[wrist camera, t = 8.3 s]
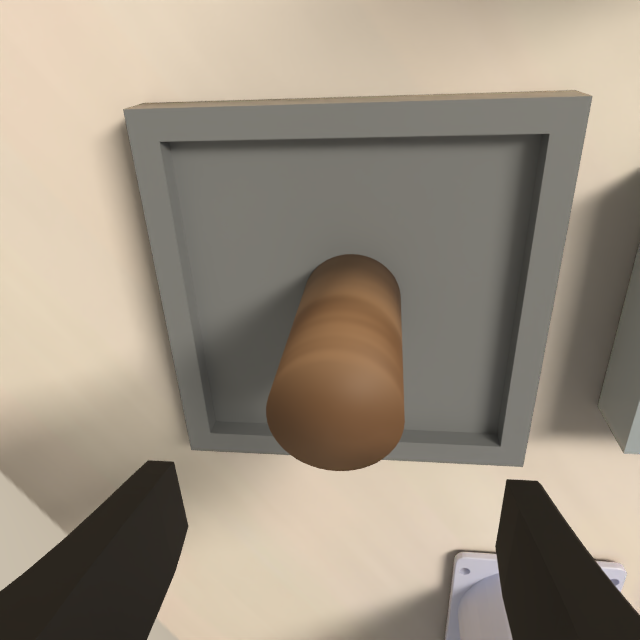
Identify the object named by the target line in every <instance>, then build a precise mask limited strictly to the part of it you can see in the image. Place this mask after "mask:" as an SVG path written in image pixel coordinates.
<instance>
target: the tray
mask: <svg viewBox="0 0 640 640" xmlns="http://www.w3.org/2000/svg"><path fill="white" fill-rule="evenodd" d="M591 101H592V96H591V95H588V94H585V93H582V92H579V91H576V90H569V91H535V92H502V93H468V94H434V95H401V96H367V97H334V98H300V99H267V100H233V101H199V102H166V103H142V104H139V105H136V106H133V107H129V108H126V109H123V111H124V116H125V121H126V126H127V131H128V136H129V141H130V146H131V151H132V156H133V161H134V166H135V171H136V176H137V181H138V186H139V191H140V196H141V201H142V206H143V211H144V216H145V221H146V226H147V231H148V236H149V241H150V246H151V251H152V256H153V261H154V266H155V271H156V276H157V281H158V286H159V291H160V296H161V301H162V306H163V311H164V316H165V321H166V326H167V331H168V336H169V341H170V346H171V351H172V356H173V361H174V366H175V371H176V376H177V381H178V386H179V391H180V396H181V401H182V406H183V411H184V416H185V421H186V426H187V431H188V436H189V441H190V446H191V450H201V451H220V452H240V453H260V454H280V455H290V454H289V453H288V452H286V451H285V450H284V449H283V448H282V447H281V446H280V445H279V444H278V442H277V441H276V440H275V438H274V437H273V435H272V433H271V431H270V429H269V426H268V423H267V418H266V404H267V400H268V396H269V393H270V390H271V387H272V384H273V381H274V378H275V375H276V373H277V370H278V367H279V364H280V361H281V358H282V355H283V352H284V349H285V346H286V343H287V340H288V337H289V334H290V331H291V328H292V325H293V322H294V319H295V316H296V313H297V310H298V307H299V304H300V301H301V298H302V295H303V292H304V289H305V286H306V283H307V281H308V279H309V277H310V275H311V274H312V272H313V271H314V270H315V269H316V268H317V267H318V266H319V265H320V264H321V263H323V262H325V261H326V260H328V259H330V258H332V257H336V256H339V255H344V254H358V255H363V256H367V257H370V258H372V259H374V260H377V261H378V262H380V263H381V264H383V265H384V266H385V267H386V268H387V269H388V270H389V271H390V272H391V273H392V274H393V276H394V277H395V279H396V281H397V283H398V286H399V289H400V294H401V321H402V352H403V384H404V415H405V424H404V430H403V433H402V436H401V438H400V441H399V443H398V444H397V445H396V447H395V448H394V449H393V450H392V451H391V453H390V454H388V455H387V456H386V457H385V458H383V459H382V460H398V461H418V462H438V463H457V464H477V465H497V466H516V467H523V464H524V459H525V453H526V448H527V443H528V437H529V432H530V427H531V421H532V416H533V411H534V405H535V400H536V395H537V389H538V384H539V379H540V373H541V368H542V362H543V357H544V352H545V346H546V341H547V336H548V330H549V325H550V320H551V314H552V309H553V304H554V298H555V293H556V288H557V282H558V277H559V272H560V266H561V261H562V256H563V250H564V245H565V240H566V234H567V229H568V224H569V218H570V213H571V208H572V202H573V197H574V192H575V186H576V181H577V176H578V170H579V165H580V160H581V154H582V149H583V144H584V138H585V133H586V128H587V122H588V117H589V112H590V106H591Z"/></svg>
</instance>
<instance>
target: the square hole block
mask: <svg viewBox="0 0 640 640" xmlns="http://www.w3.org/2000/svg"><path fill="white" fill-rule="evenodd" d="M598 408H599V410H600V411H601V413H602V415H603V417H604V419H605V421H606V422H607V424H608V426H609V428H610V430H611V431H612V433H613V435H614V437H615V439H616V441H617V442H618V444H619V446H620V448H621V450H622V451H623V453H624V454H640V243H639V247H638V250H637V254H636V258H635V262H634V266H633V270H632V274H631V278H630V282H629V285H628V289H627V293H626V297H625V301H624V305H623V309H622V313H621V317H620V320H619V324H618V328H617V332H616V336H615V340H614V344H613V348H612V352H611V356H610V359H609V363H608V367H607V371H606V375H605V379H604V383H603V387H602V391H601V394H600V398H599V402H598Z"/></svg>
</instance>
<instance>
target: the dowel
mask: <svg viewBox="0 0 640 640" xmlns="http://www.w3.org/2000/svg"><path fill="white" fill-rule="evenodd" d="M266 418H267V423H268V426H269V429H270V431H271V433H272V435H273V437H274V438H275V440H276V441H277V442H278V444H279V445H280V446H281V447H282V448H283V449H284V450H285V451H286V452H288V453H289V454H290V455H292V456H293V457H294V458H296V459H298V460H300V461H301V462H303V463H306V464H308V465H311V466H314V467H317V468H320V469H325V470H333V471H349V470H356V469H361V468H364V467H367V466H370V465H372V464H375V463H377V462H378V461H380V460H382V459H383V458H385V457H386V456H387V455H388V454H390V453H391V451H392V450H393V449H394V448H395V447H396V445H397V444H398V443H399V441H400V438H401V436H402V433H403V430H404V424H405V415H404V384H403V352H402V321H401V294H400V289H399V286H398V283H397V281H396V279H395V277H394V276H393V274H392V273H391V272H390V271H389V270H388V269H387V268H386V267H385V266H384V265H383V264H381V263H380V262H378V261H377V260H374V259H372V258H370V257H367V256H363V255H358V254H344V255H339V256H336V257H332V258H330V259H328V260H326V261H325V262H323V263H321V264H320V265H319V266H318V267H317V268H316V269H315V270H314V271H313V272H312V274H311V275H310V277H309V279H308V281H307V283H306V286H305V289H304V292H303V295H302V298H301V301H300V304H299V307H298V310H297V313H296V316H295V319H294V322H293V325H292V328H291V331H290V334H289V337H288V340H287V343H286V346H285V349H284V352H283V355H282V358H281V361H280V364H279V367H278V370H277V373H276V375H275V378H274V381H273V384H272V387H271V390H270V393H269V396H268V400H267V404H266Z"/></svg>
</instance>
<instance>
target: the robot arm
mask: <svg viewBox="0 0 640 640" xmlns="http://www.w3.org/2000/svg"><path fill="white" fill-rule="evenodd" d="M187 529H188V523H187V518H186V514H185V509H184V505H183V500H182V496H181V491H180V487H179V483H178V478H177V474H176V469H175V465H174V462H166V461H147V462H146V463H145V464H144V465H143V466H142V467H141V468H139V469H138V470H137V471H136V472H135V473H134V474H133V475H132V476H131V477H130V478H129V479H128V480H127V481H126V482H125V483H124V484H122V485H121V486H120V487H119V488H118V489H117V490H116V491H115V492H114V493H113V494H112V495H111V496H110V497H109V498H108V499H107V500H106V501H105V502H104V503H103V504H101V505H100V506H99V507H98V508H97V509H96V510H95V511H94V512H93V513H92V514H91V515H90V516H89V517H87V518H86V519H85V520H84V521H83V522H82V523H81V524H80V525H79V526H78V527H77V528H76V529H74V530H73V531H72V532H71V533H70V534H69V535H68V536H67V537H66V538H64V539H63V540H62V541H61V542H60V543H59V544H58V545H56V546H55V547H54V548H53V549H52V550H51V551H49V552H48V553H47V554H46V555H45V556H44V557H42V558H41V559H40V560H39V561H38V562H36V563H35V564H34V565H33V566H32V567H31V568H29V569H28V570H27V571H26V572H25V573H23V574H22V575H21V576H19V577H18V578H17V579H16V580H15V581H13V582H12V583H11V584H9V585H8V586H7V587H5V588H4V589H3V590H1V591H0V640H147V638H148V635H149V633H150V631H151V628H152V626H153V623H154V621H155V619H156V617H157V614H158V612H159V610H160V607H161V605H162V602H163V600H164V598H165V595H166V593H167V590H168V588H169V586H170V583H171V581H172V578H173V576H174V573H175V571H176V567H177V564H178V561H179V557H180V554H181V551H182V547H183V544H184V540H185V536H186V533H187ZM626 576H627V572H626V570H625V568H624V566H623V565H622V564H620V563H617V562H606V561H595V560H594V558H593V557H592V556H591V554H590V553H589V552H588V550H587V549H586V548H585V546H584V545H583V544H582V542H581V541H580V540H579V538H578V537H577V536H576V534H575V533H574V531H573V530H572V529H571V527H570V526H569V524H568V523H567V522H566V520H565V519H564V517H563V516H562V515H561V513H560V512H559V510H558V509H557V507H556V506H555V504H554V503H553V501H552V500H551V498H550V497H549V495H548V494H547V492H546V491H545V489H544V488H543V486H542V485H541V484H540V483H539V482H538V481H529V480H509V479H507V480H506V486H505V492H504V498H503V505H502V511H501V517H500V523H499V529H498V535H497V541H496V554H491V553H477V552H460V553H458V554H457V555H456V556H455V558H454V566H453V575H452V583H451V591H450V600H449V608H448V617H447V625H446V633H445V640H640V615H639V614H638V613H637V611H636V610H635V609H634V608H633V607H632V606H631V604H630V603H629V602H628V601H627V600H626V599H625V597H624V596H623V595H622V594H621V590H622V587H623V584H624V582H625V579H626Z"/></svg>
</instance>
